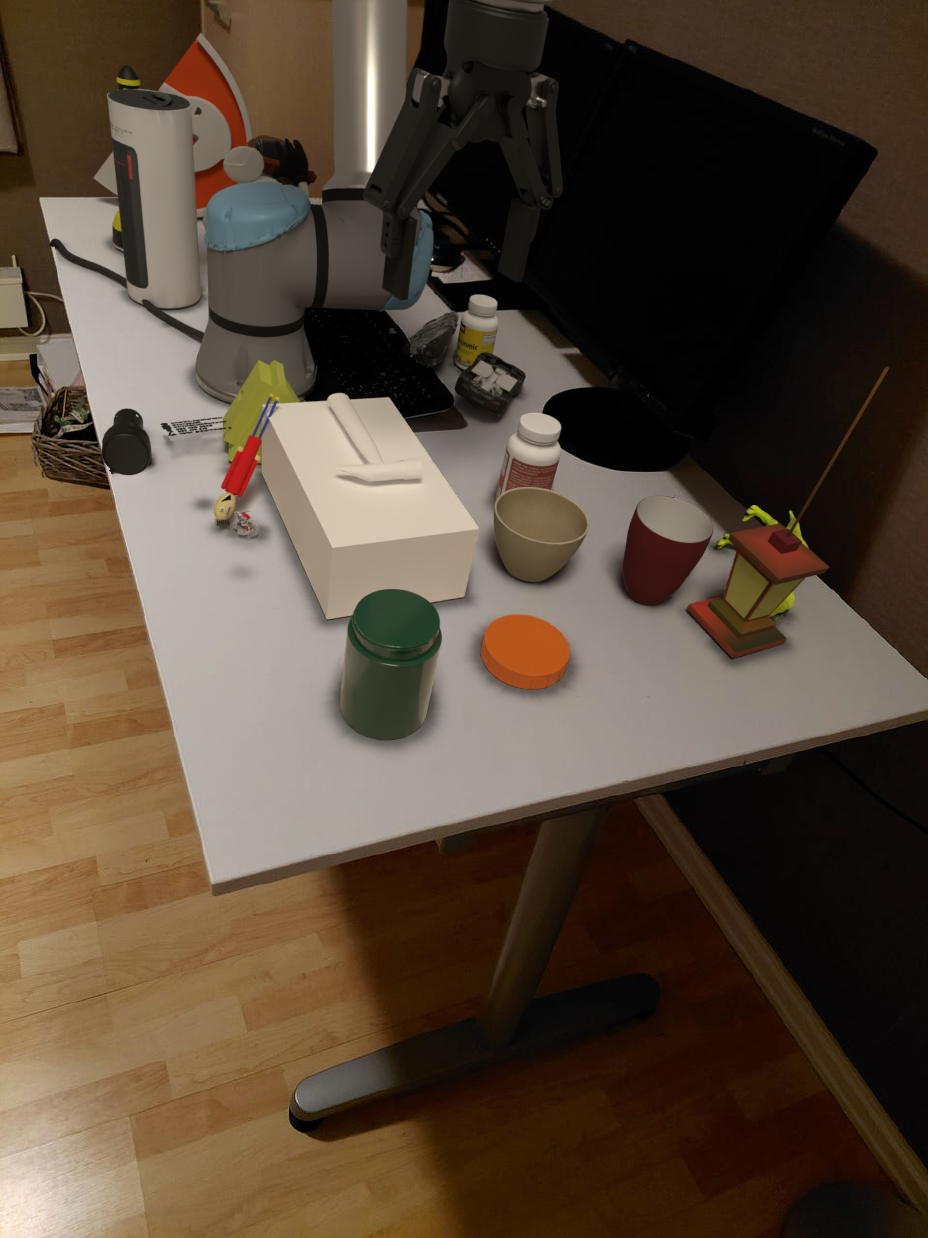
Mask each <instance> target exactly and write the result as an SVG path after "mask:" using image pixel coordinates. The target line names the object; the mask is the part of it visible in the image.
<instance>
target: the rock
mask: <svg viewBox="0 0 928 1238" xmlns="http://www.w3.org/2000/svg"><path fill="white" fill-rule="evenodd" d="M458 322H459V314H458V312H457V311H455V310H450V311H449V312H445V313H444V314H443V315H440V316H439V317H437V318H433V319H431V320H429V321H428V322H426V323H425V324H424V325H423V326H422V327H421V328H420V329H419V330H418V331H417V332H416V333H415V334H413V335H412V336H411V337H409V338H408V339H409V340H410V344H411V346H410V354H412V355H415V356H417V357H419V359H420V362H419V363H422V364H425V365H427V366H428V367H427V368H430V367H435V366H436V365H437V364H440V363H441V362H442V361H443V360H444V356H445V353H446V350H447V347H448V346H449V344H450V343H451V340H452V337H453V335H455V333H456V331H457V328H458V326H459V323H458ZM429 366H430V367H429Z"/></svg>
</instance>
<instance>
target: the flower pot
mask: <svg viewBox="0 0 928 1238" xmlns="http://www.w3.org/2000/svg"><path fill="white" fill-rule="evenodd" d="M590 523H591V522H590V518H589V516H588V514H587V513H586V511H585V510H584V508H583V507H582V506H580V504H578V503H577V501H575V500H573V499H571V498H570V497H568V496H566V495H564V494H562V493H560V492H558V491H554V490H552V489H551V490H548V489H543V488H537V487H519V488H514V489H511V490H508V491H506V492H504V493H502V494H501V495H500V496H499V497H498V498H497V500H496V499H495V502H494V508H493V531H494V538H495V544H496V547H497V550H498V553H499V554H498V555H499V557H500V559H501V561H502V563H503V565H504V567H505V569H506V571H507V572H508V573H509V574H510V575H511V576H512V577H514V578H516V579H518V580H521V581H524V582H527V583H539V582H543V581H546V580H547V579H549V578H550V577H552V576H553V575H554V574H556V573H557V572H558V571H560V570H561V569H562V568H563V567H564V566H565V565H566V564H567V563H568V562H569V561H570V560H571V559H572V558H573V556H574V555H575V554H576V552H577V551H578V550H579V549H580V547H581V546H582V544H583V542H584V540H585V539H586V537H587V534H588V533H589V530H590V525H591V524H590Z"/></svg>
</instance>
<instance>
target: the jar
mask: <svg viewBox="0 0 928 1238" xmlns="http://www.w3.org/2000/svg"><path fill="white" fill-rule="evenodd" d="M440 626H441V618H440V614H439V612H438V610H437V609H436V607H435V606H434V605H433V604H432V602H429V601H428V600H426V599H425V598H424V597H422V596H420V595H418V594H415V593H413V592H410V591H406V590H400V589H384V590H378V591H375V592H372V593H370V594H368V595H366V596H365V597H363V598H362V599H361V600H360V601H359V602H358V604H357V606H356V608H355V609H354V612H353V615H351V616H350V619H349V621H348V623H347V628H346V637H345V648H344V649H345V650H344V657H343V667H342V675H341V685H340V697H339V710H340V713H341V716H342V717H343V719H344V721H345V722H346V724H347V725H348V726H349V727H350V728H351V729H352V730H354V731H355V732H356V733H359V734H361V735H362V736H365V737H367V738H370V739H374V740H382V741H391V740H397V739H398V740H399V739H403V738H405V737H407V736H409V735H410V736H411V734H413V733H414V732H416V731H417V730H418V729H419V728H421V726H422V725H423V724H424V722H425V721H426V717H427V713H428V709H429V704H430V700H431V694H432V690H433V686H434V685H433V684H434V680H435V676H436V670H437V666H438V662H439V661H438V660H439V656H440V651H441V647H442V643H443V633H442V629H441V627H440Z"/></svg>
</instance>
